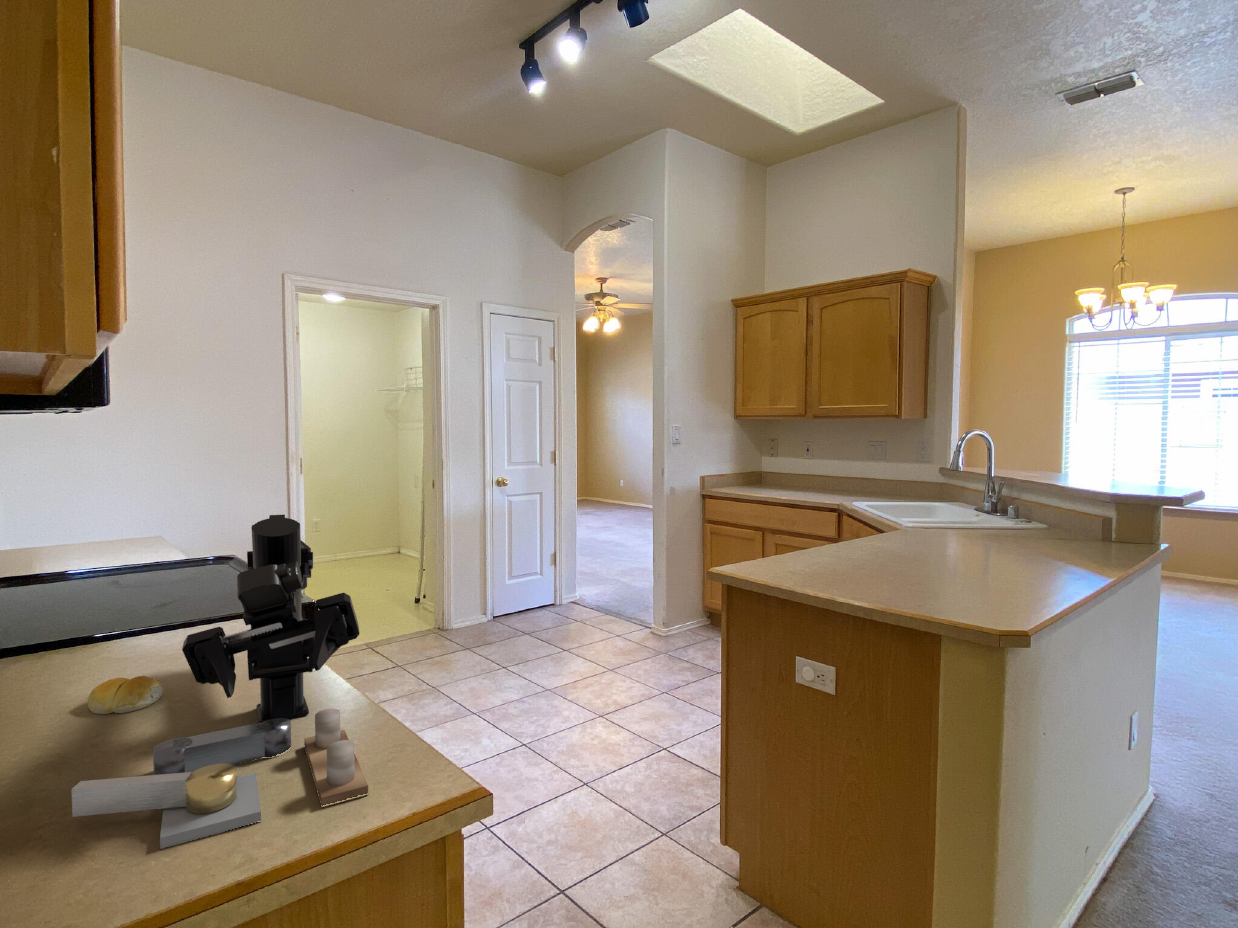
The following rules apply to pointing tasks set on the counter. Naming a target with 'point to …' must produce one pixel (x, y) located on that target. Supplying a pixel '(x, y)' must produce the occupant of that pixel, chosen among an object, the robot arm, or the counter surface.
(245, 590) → the robot arm
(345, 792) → the peg rack
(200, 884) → the counter surface
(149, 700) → the bread roll
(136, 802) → the lever switch
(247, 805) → the plate
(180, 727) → the counter surface
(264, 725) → the grey knobbed rod
